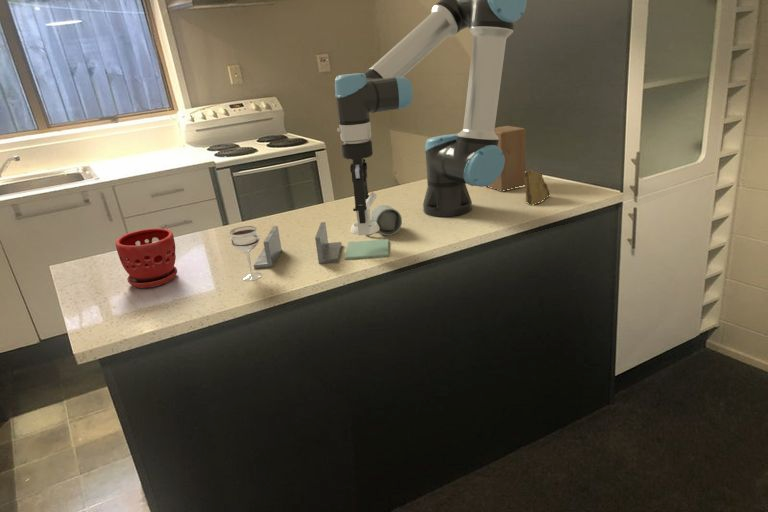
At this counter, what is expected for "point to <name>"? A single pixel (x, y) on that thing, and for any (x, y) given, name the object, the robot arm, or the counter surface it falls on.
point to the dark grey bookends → (273, 248)
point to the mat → (367, 249)
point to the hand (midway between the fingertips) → (364, 228)
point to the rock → (535, 187)
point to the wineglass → (245, 245)
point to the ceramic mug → (386, 219)
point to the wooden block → (511, 157)
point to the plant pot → (148, 257)
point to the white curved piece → (373, 224)
